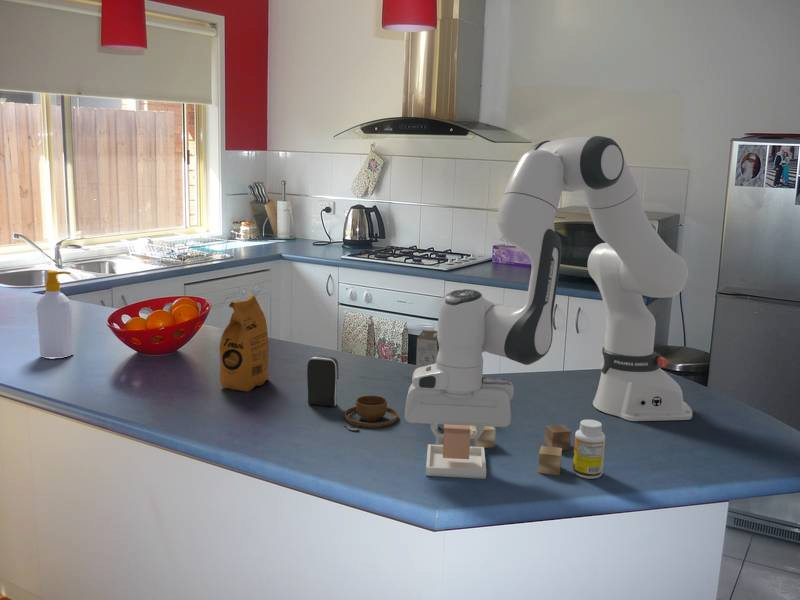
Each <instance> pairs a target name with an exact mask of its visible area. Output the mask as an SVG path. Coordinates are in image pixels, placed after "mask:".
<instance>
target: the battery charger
mask: <svg viewBox="0 0 800 600" xmlns="http://www.w3.org/2000/svg"><path fill="white" fill-rule="evenodd" d="M306 371H307V373H306V375H307V376H306V379H307V381H306V382H307V404H308V405H313V406H321V407H331V408H332V407H335V406H336V405H337V400H338V399H337V384H338V380H339V362H338V359H337V358H335V357H332V356H326V355H325V356H324V355H323V356H322V355H321V356H320V355H315V356H312V357H311V358H310V359H308V362H307V368H306Z"/></svg>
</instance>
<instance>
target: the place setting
mask: <svg viewBox="0 0 800 600" xmlns="http://www.w3.org/2000/svg"><path fill="white" fill-rule="evenodd" d="M353 412H357V413H356V414H357V415H358V416H359V417H360V418H363V419H364V420H363V419H362V420H363V421H364V422H362V421H357V420H354V419H351V418H350V417H349V418H348V415H349V414H351V413H353ZM386 412H388V413H390V414H392V415H393V416H394V417H395V418H394V417H393V416H392V415H391V416H392V417H393V418H392V419H389V420H386V421H381V422H376V421H375V420H378V421H380V420H379V419H381V418H383V417H384V416H385V415H386V414H388V413H386ZM390 414H389V415H390ZM398 416H399V413H398V411H397V410H396V409H394V408H392V407H390V406H388V399H386V398H385V397H382V396H379V395H363V396H360V397H358V398H356V399H355V406H353V407H350V408H348V409H346V410H345V412H344V419H345V420H346V421H348V422H347V423H348V424H350V423H351V424H350V425H352V424H354V425H353V426H354V427H355V425H358V426H356V427H355V428H357V430H351V431H350V429H349V430H348V431H350V432H359V431H360V428H359V426H363V427H362V428H365V427H379V428H382V427H381V426H385V427H388V426H387V425H389V426H391V425H393V424H395V423H396V421H397V420H398ZM365 420H368V421H367V422H366V421H365ZM371 421H372V422H371ZM390 424H391V425H390ZM347 426H348V425H347ZM348 427H350V426H348Z"/></svg>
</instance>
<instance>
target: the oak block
mask: <svg viewBox="0 0 800 600" xmlns="http://www.w3.org/2000/svg"><path fill="white" fill-rule="evenodd" d="M562 452H563V450H562V448H558V447H550V446H547V445H540V449H539V452H538V464H537V465H538V468H537V473H540V474H545V475H546V474H547V475H552V476H553V475H554V476H560V472H561V467H562V456H563V455H562V454H563V453H562Z"/></svg>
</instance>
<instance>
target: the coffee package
mask: <svg viewBox="0 0 800 600" xmlns="http://www.w3.org/2000/svg"><path fill="white" fill-rule="evenodd" d="M228 307H229V308H231V309H232V310H233V312H232V314H231V315H230V319H229V323H228V324H227V325H226V327H225V329H224V330H223V333H222V334H221V338H220V342H219V359H220V367H219V368H220V372H219V373H220V376H219V377H220V379H219V383H220V385H221V386H222V388H223V389H230V390H233V391H235V390H236V391H240V392H250V391H251V390H253V389H254V388H255V387H257V386H259V387H260V386H262V385H264V384H265V382H266V381H267V380H269V333H268V326H267V324H268V323H267V320H266V317H265V314H264V312H263V310H262V308H261V306H260V304H259V302H258V300H257V297H256V296H255V294H250V295H248V298H247V299H246V300H239V301H238V300H237V301H231V302H230V303H229V305H228Z"/></svg>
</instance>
